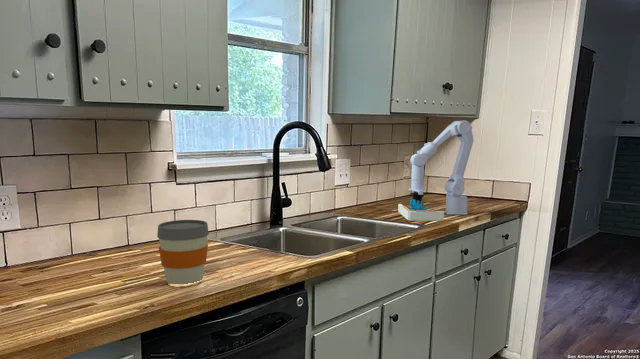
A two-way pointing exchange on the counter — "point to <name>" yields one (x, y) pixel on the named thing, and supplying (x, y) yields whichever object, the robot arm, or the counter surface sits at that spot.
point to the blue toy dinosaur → (417, 206)
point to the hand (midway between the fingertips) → (416, 207)
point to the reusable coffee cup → (183, 250)
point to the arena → (420, 214)
